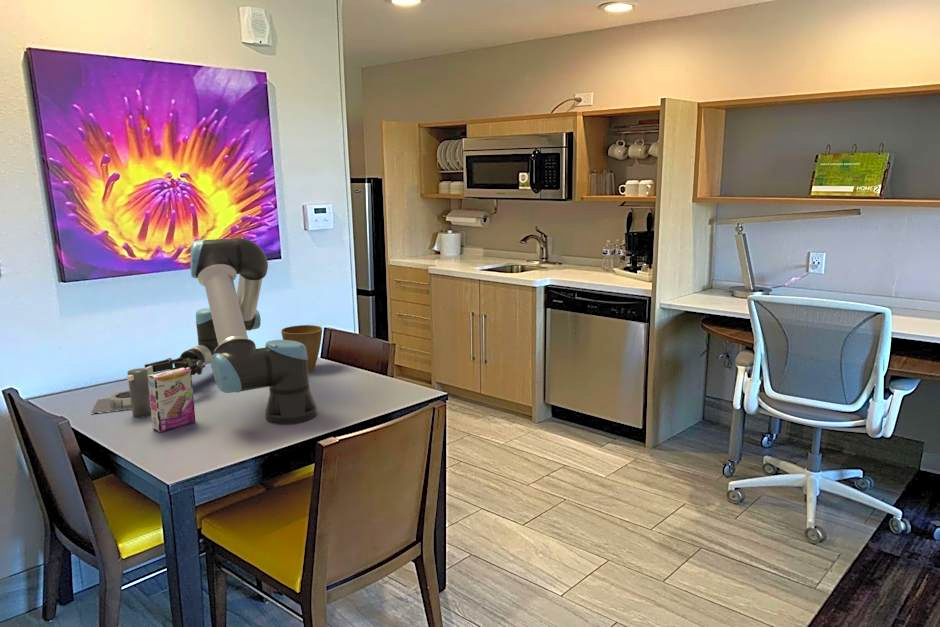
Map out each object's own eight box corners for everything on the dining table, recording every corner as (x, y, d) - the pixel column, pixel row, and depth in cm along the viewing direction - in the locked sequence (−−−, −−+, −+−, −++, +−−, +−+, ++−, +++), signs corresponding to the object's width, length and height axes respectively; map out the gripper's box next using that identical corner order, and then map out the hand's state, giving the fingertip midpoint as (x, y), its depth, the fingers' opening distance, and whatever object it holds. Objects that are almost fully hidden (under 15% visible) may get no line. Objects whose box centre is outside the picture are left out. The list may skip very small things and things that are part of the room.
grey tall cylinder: (140, 410, 214) (135, 368, 211) (156, 411, 213) (151, 368, 210) (125, 418, 207) (120, 374, 205) (142, 419, 207) (136, 374, 204)
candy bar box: (160, 433, 195) (154, 378, 192) (152, 429, 198) (145, 375, 195) (197, 422, 203) (191, 369, 200) (188, 418, 206) (183, 366, 203)
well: (161, 406, 218) (160, 396, 218) (91, 414, 211) (90, 405, 211) (164, 393, 231) (163, 384, 230) (98, 401, 224) (97, 392, 224)
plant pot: (293, 378, 246) (290, 335, 243) (278, 369, 258) (275, 328, 255) (331, 371, 255) (328, 329, 252) (315, 362, 267) (312, 322, 264)
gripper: (228, 370, 238) (195, 389, 217) (164, 367, 242) (124, 385, 222) (227, 349, 236) (192, 366, 216) (161, 347, 241) (122, 363, 220)
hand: (158, 376), depth 219 cm, fingers open, 13 cm apart
